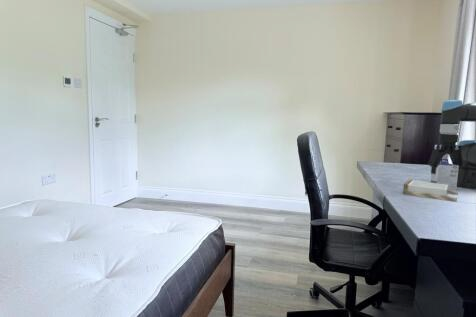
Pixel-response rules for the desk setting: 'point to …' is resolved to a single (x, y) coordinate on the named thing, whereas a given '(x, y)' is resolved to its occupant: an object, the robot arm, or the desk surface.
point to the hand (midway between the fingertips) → (443, 180)
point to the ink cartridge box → (447, 175)
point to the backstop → (429, 194)
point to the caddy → (428, 188)
